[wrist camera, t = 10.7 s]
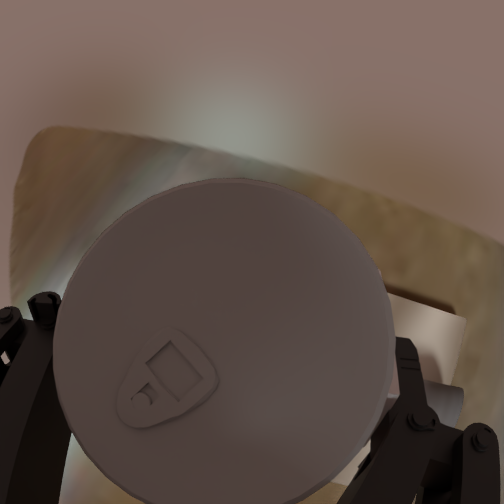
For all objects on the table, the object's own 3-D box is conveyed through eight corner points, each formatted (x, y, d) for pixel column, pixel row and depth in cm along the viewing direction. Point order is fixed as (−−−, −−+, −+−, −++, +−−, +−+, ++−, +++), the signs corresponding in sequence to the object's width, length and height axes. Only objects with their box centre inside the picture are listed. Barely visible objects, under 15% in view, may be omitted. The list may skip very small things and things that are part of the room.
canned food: (164, 381, 16) (14, 386, 6) (235, 263, 18) (163, 135, 8) (283, 452, 14) (263, 574, 4) (356, 325, 16) (451, 260, 6)
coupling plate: (459, 317, 17) (497, 303, 13) (397, 492, 14) (421, 520, 9) (145, 214, 23) (116, 183, 19) (80, 365, 20) (37, 360, 15)
